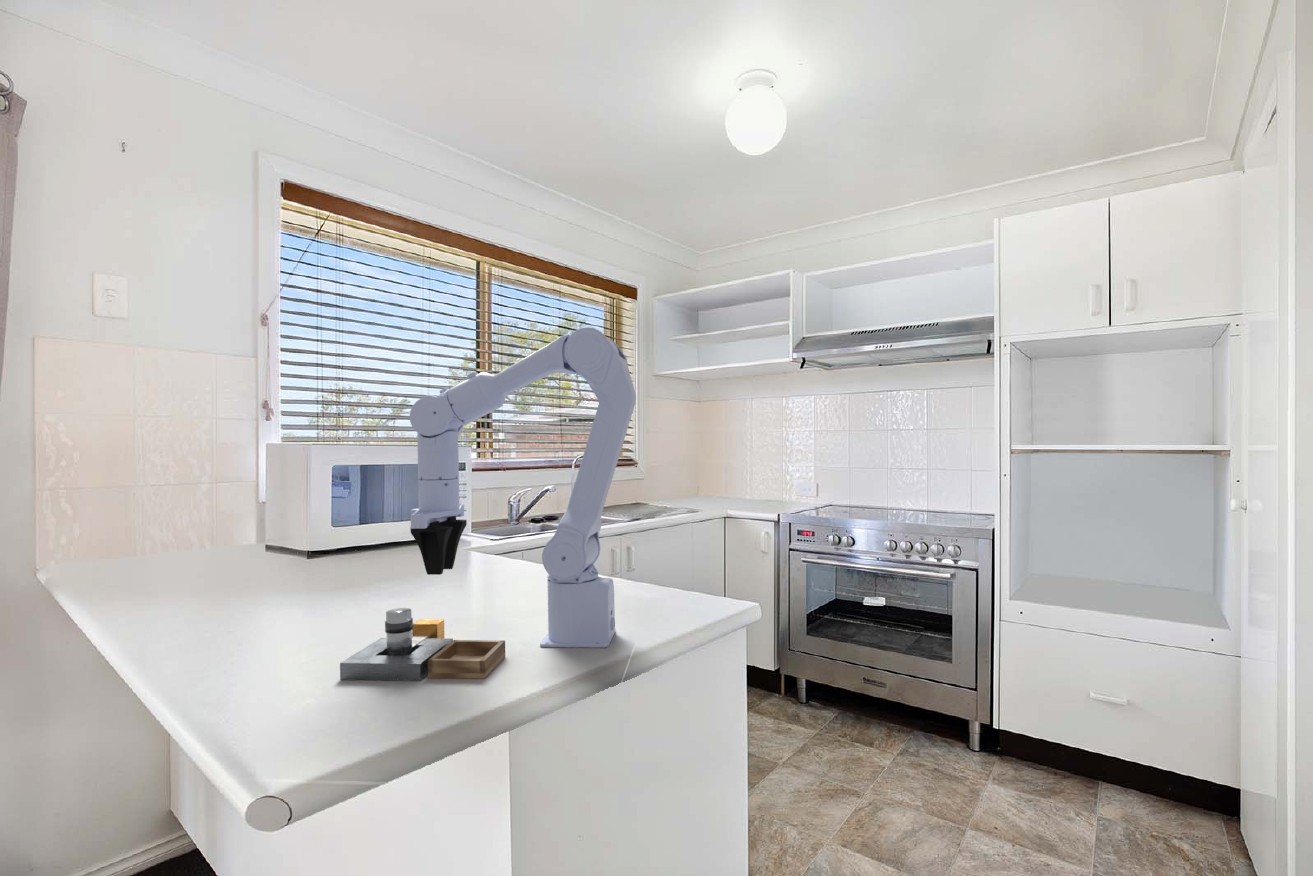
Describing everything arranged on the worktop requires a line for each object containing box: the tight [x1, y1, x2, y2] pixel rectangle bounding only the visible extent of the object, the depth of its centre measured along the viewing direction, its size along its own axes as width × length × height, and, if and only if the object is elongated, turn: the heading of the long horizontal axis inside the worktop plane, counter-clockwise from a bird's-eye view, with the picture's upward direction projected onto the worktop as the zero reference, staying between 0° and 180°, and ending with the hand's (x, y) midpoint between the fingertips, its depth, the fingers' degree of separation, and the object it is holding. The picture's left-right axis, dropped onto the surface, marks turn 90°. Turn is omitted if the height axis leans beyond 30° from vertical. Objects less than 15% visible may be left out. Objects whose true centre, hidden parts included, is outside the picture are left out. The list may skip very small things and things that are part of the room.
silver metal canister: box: [384, 607, 414, 656], centre depth 84 cm, size 3×3×7 cm
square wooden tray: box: [427, 639, 506, 679], centre depth 83 cm, size 7×8×2 cm
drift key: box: [412, 618, 445, 652], centre depth 90 cm, size 8×4×3 cm, turn 175°
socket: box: [339, 637, 454, 682], centre depth 84 cm, size 10×10×2 cm
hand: (440, 571), depth 97 cm, fingers open, 3 cm apart
